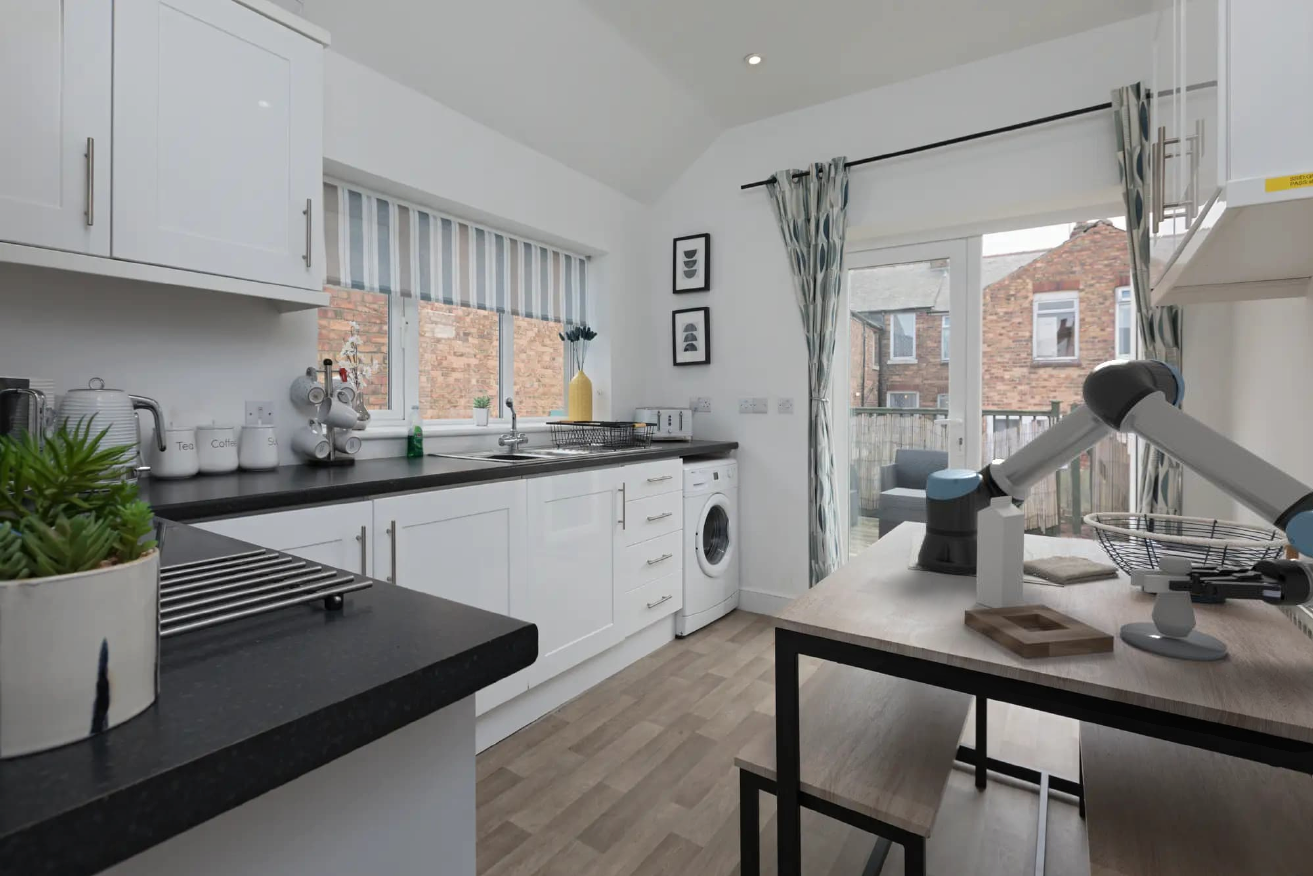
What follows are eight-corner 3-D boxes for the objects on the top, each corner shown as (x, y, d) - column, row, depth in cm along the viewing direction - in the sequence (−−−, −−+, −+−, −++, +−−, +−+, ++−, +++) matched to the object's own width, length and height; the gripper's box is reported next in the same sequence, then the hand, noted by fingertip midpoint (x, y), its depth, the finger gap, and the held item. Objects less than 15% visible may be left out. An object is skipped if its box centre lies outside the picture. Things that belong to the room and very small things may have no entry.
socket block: (964, 623, 119) (964, 610, 119) (1041, 617, 121) (1042, 604, 121) (1025, 658, 103) (1026, 643, 103) (1113, 651, 105) (1113, 636, 105)
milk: (1022, 607, 127) (1026, 498, 125) (1001, 611, 125) (1005, 500, 123) (995, 598, 133) (998, 493, 131) (975, 602, 130) (977, 495, 128)
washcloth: (1122, 577, 146) (1122, 564, 146) (1064, 587, 140) (1064, 573, 140) (1073, 564, 157) (1073, 552, 157) (1017, 573, 151) (1018, 560, 151)
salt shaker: (1204, 640, 104) (1206, 562, 103) (1166, 639, 105) (1168, 562, 104) (1179, 627, 110) (1181, 553, 109) (1143, 626, 111) (1145, 553, 110)
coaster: (1100, 630, 114) (1100, 625, 114) (1168, 625, 116) (1168, 619, 116) (1174, 663, 100) (1174, 657, 100) (1250, 656, 102) (1250, 650, 102)
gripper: (1337, 621, 97) (1170, 618, 100) (1252, 589, 113) (1110, 587, 116) (1339, 573, 97) (1171, 572, 99) (1254, 548, 112) (1111, 547, 115)
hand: (1139, 580), depth 108 cm, fingers closed on salt shaker, 3 cm apart
